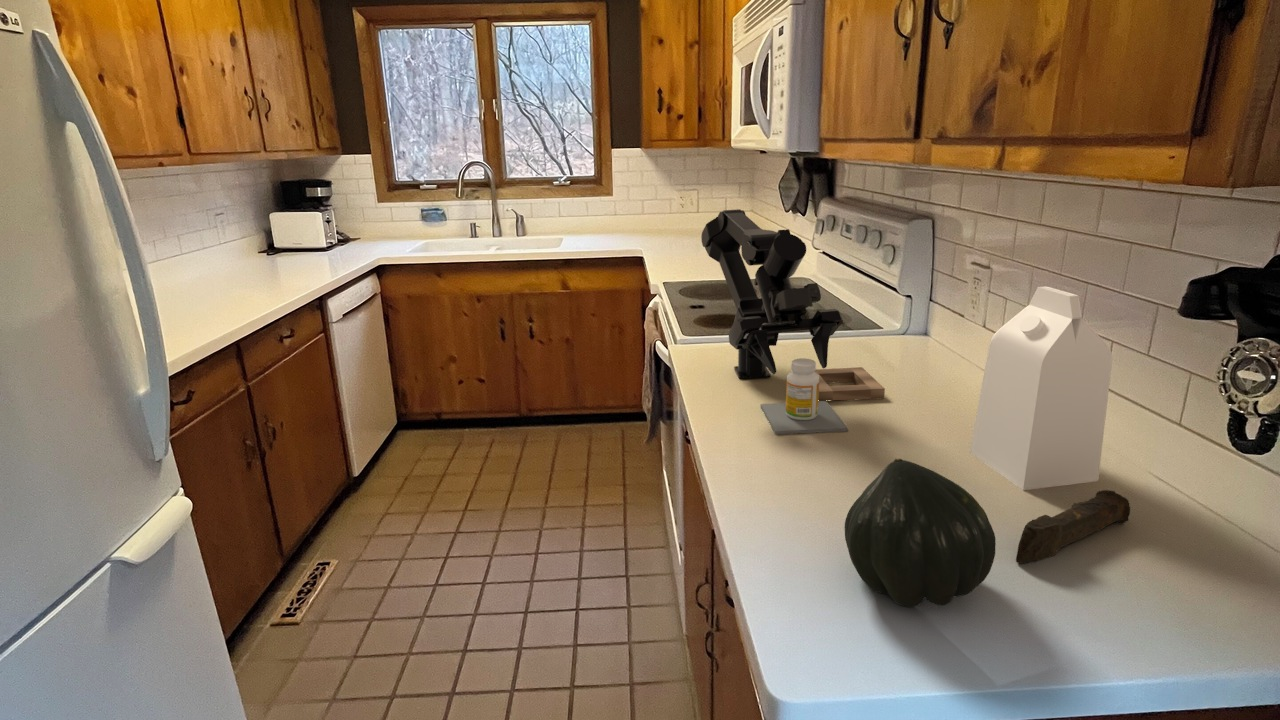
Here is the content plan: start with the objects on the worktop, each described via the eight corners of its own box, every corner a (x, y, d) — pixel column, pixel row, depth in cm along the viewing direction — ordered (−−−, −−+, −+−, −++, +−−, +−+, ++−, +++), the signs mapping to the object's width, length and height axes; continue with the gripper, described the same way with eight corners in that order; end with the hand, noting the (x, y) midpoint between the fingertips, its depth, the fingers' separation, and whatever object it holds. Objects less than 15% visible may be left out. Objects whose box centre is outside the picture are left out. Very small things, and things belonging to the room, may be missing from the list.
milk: (1098, 480, 96) (1133, 297, 88) (1022, 490, 95) (1051, 304, 86) (1037, 444, 108) (1063, 279, 99) (969, 452, 106) (989, 285, 98)
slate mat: (760, 407, 126) (760, 404, 126) (826, 403, 126) (826, 400, 126) (775, 434, 114) (775, 431, 114) (847, 431, 115) (847, 427, 115)
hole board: (801, 379, 138) (802, 370, 138) (861, 376, 139) (862, 367, 138) (819, 402, 127) (819, 391, 126) (883, 398, 127) (884, 388, 127)
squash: (1039, 592, 66) (990, 441, 72) (886, 611, 65) (849, 456, 71) (972, 603, 79) (935, 474, 85) (844, 618, 78) (815, 487, 84)
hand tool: (1096, 512, 89) (1101, 479, 88) (1128, 526, 86) (1135, 492, 84) (994, 554, 82) (999, 519, 80) (1026, 572, 78) (1031, 536, 77)
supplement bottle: (800, 406, 124) (802, 354, 121) (824, 415, 120) (826, 362, 116) (779, 414, 121) (780, 361, 118) (802, 423, 117) (804, 369, 114)
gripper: (738, 272, 117) (761, 354, 110) (841, 263, 120) (869, 342, 114) (723, 306, 127) (743, 383, 120) (818, 297, 130) (843, 372, 123)
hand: (800, 370), depth 119 cm, fingers open, 9 cm apart
